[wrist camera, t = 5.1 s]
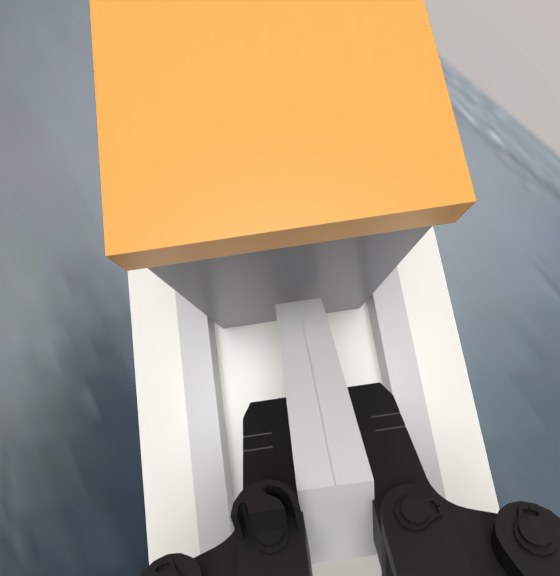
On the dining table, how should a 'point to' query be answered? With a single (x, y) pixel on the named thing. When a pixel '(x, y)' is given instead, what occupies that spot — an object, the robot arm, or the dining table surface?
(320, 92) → the handle
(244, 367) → the railed base plate
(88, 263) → the dining table surface
